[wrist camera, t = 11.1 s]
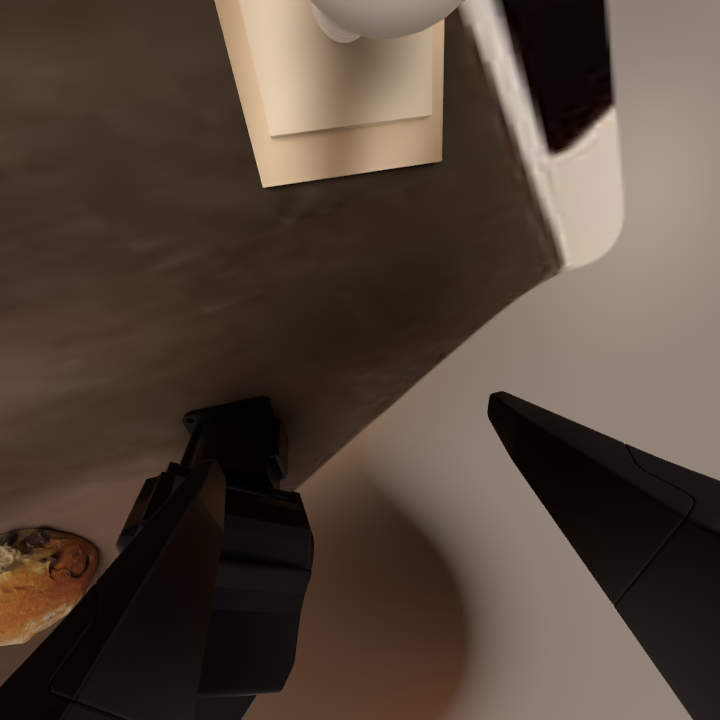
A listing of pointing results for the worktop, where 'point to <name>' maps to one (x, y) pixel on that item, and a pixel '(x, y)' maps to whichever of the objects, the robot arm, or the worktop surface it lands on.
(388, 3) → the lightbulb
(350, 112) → the base
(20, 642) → the bread roll
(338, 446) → the worktop surface
